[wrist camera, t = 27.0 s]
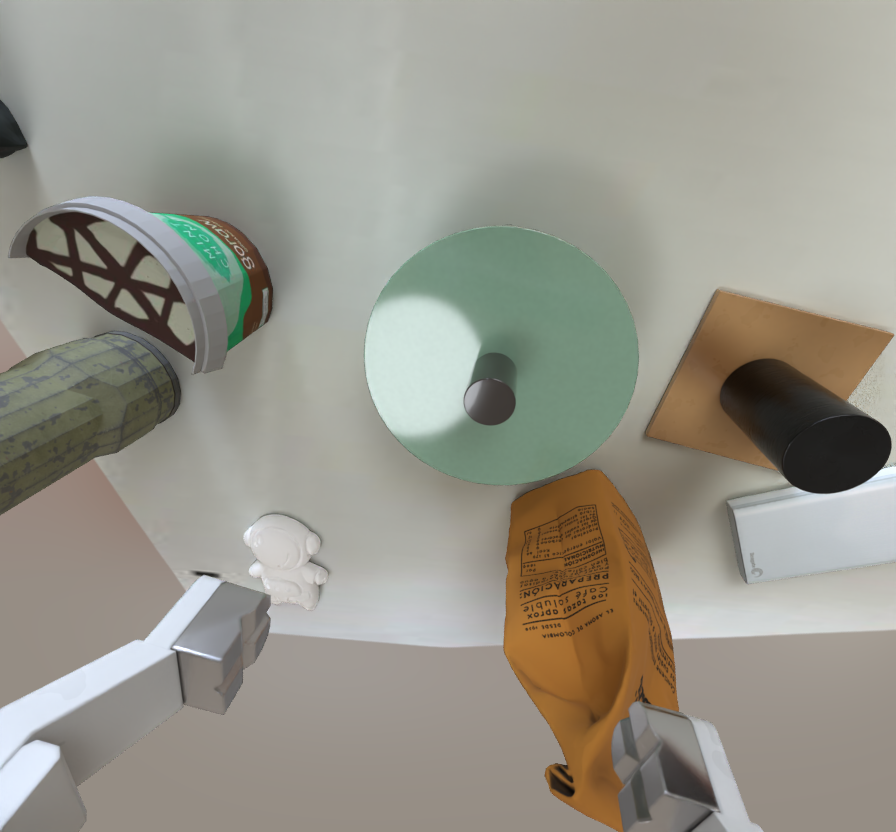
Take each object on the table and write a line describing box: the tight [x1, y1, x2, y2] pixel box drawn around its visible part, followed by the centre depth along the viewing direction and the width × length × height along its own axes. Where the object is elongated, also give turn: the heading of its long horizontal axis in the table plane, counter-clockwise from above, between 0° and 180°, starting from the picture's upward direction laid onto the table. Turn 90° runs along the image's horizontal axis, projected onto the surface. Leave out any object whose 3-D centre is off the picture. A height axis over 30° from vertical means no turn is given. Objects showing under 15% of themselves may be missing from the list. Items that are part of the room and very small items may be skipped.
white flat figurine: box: [244, 514, 328, 611], centre depth 44 cm, size 9×12×3 cm
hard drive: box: [726, 466, 896, 584], centre depth 34 cm, size 2×8×12 cm
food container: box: [8, 196, 273, 375], centre depth 28 cm, size 12×6×10 cm, turn 56°
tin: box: [720, 358, 891, 494], centre depth 26 cm, size 5×5×8 cm
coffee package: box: [503, 470, 679, 832], centre depth 29 cm, size 10×12×22 cm
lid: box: [364, 226, 639, 485], centre depth 24 cm, size 16×16×5 cm
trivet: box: [645, 290, 894, 471], centre depth 30 cm, size 11×11×1 cm
